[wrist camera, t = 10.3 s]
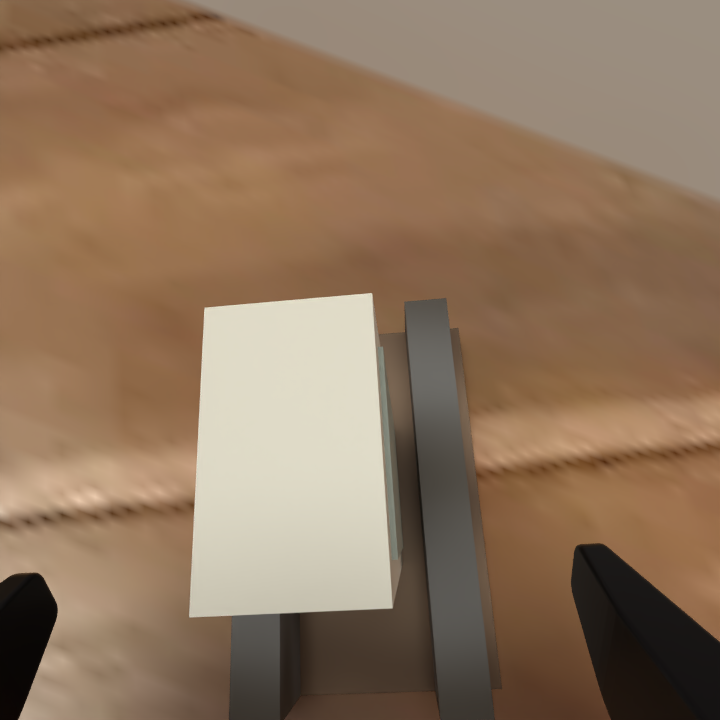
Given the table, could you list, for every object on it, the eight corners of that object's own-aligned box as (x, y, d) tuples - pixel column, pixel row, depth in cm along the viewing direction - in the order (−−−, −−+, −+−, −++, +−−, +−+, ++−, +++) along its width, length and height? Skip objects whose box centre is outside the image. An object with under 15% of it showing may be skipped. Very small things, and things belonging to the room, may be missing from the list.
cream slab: (405, 563, 19) (399, 608, 7) (318, 567, 19) (182, 617, 8) (395, 427, 20) (377, 292, 9) (314, 432, 21) (198, 307, 9)
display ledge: (494, 677, 19) (520, 719, 14) (250, 685, 19) (205, 727, 15) (455, 340, 23) (465, 296, 19) (255, 356, 23) (221, 317, 19)
